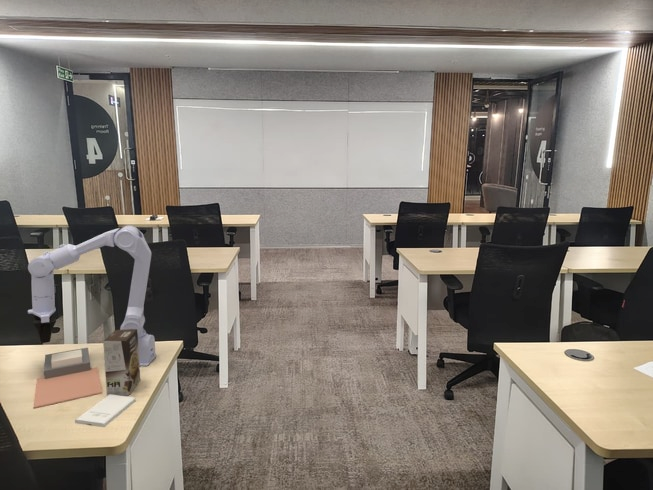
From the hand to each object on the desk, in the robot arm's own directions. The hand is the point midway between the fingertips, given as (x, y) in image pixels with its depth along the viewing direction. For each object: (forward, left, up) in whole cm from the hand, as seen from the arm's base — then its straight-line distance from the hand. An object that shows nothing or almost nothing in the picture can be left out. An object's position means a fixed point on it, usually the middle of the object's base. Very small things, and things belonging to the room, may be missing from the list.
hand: (44, 338), depth 133 cm
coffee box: (-28, +11, -11) cm, 32 cm away
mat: (-12, +10, -11) cm, 19 cm away
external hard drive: (-29, +23, -11) cm, 39 cm away
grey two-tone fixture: (-5, -2, -11) cm, 12 cm away
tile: (-6, 0, -8) cm, 10 cm away
